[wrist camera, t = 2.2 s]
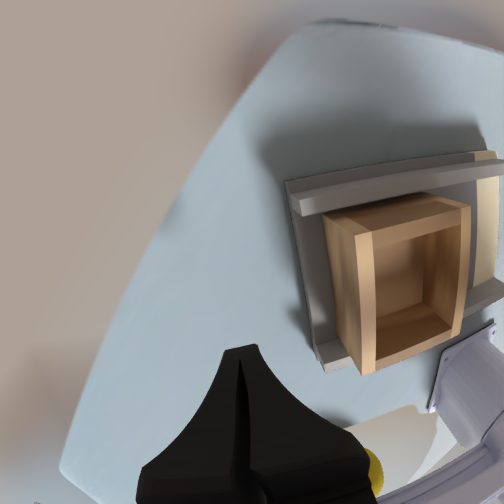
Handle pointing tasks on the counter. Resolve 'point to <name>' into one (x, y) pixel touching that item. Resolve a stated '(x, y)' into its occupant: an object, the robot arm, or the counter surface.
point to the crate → (398, 276)
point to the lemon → (375, 473)
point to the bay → (382, 188)
